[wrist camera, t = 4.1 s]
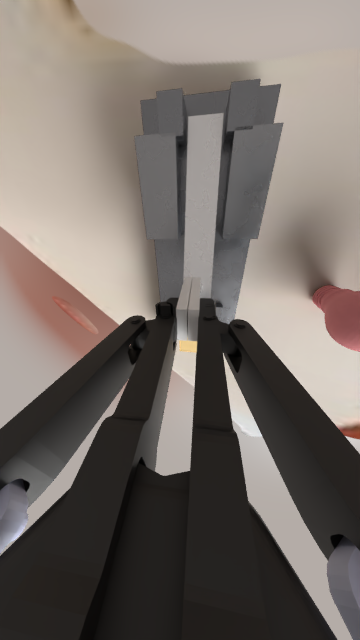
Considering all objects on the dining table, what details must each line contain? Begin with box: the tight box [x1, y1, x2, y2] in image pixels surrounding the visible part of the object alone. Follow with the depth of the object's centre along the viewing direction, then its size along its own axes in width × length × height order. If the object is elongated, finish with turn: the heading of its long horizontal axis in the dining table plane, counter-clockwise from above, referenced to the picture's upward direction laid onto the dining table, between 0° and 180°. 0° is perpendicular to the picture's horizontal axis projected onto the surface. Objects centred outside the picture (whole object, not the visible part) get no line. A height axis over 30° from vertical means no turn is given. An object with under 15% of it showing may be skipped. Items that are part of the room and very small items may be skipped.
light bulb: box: [312, 285, 360, 352], centre depth 21 cm, size 7×7×12 cm
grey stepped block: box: [134, 79, 283, 340], centre depth 22 cm, size 28×12×7 cm, turn 1°
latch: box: [179, 337, 197, 352], centre depth 26 cm, size 7×5×4 cm
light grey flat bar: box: [183, 113, 224, 298], centre depth 16 cm, size 18×3×1 cm, turn 0°
